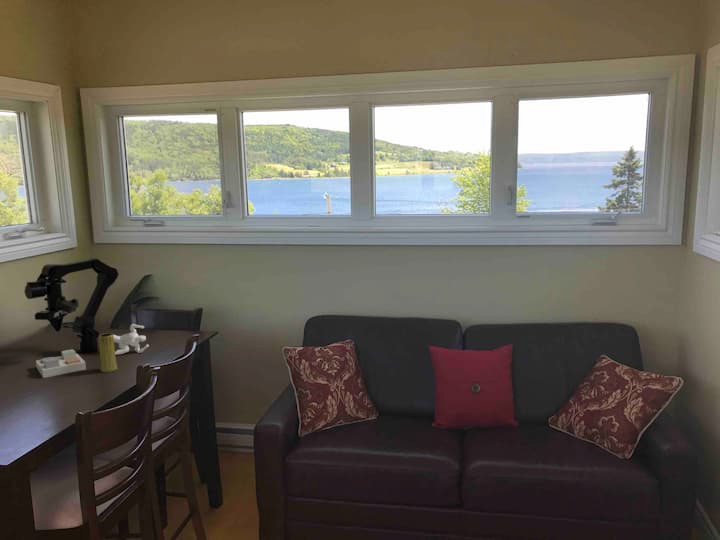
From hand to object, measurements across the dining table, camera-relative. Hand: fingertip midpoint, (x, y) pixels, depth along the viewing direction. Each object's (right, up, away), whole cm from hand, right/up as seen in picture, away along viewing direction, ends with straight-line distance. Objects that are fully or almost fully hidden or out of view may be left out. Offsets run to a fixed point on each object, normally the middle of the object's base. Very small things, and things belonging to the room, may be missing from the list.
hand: (58, 331), depth 235 cm
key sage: (+7, -10, -6) cm, 14 cm away
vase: (+27, -14, -13) cm, 33 cm away
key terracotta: (+12, -13, -11) cm, 21 cm away
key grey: (+6, -12, -16) cm, 21 cm away
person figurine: (+24, -11, +10) cm, 28 cm away
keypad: (+7, -14, -10) cm, 19 cm away
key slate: (+2, -13, -10) cm, 16 cm away
